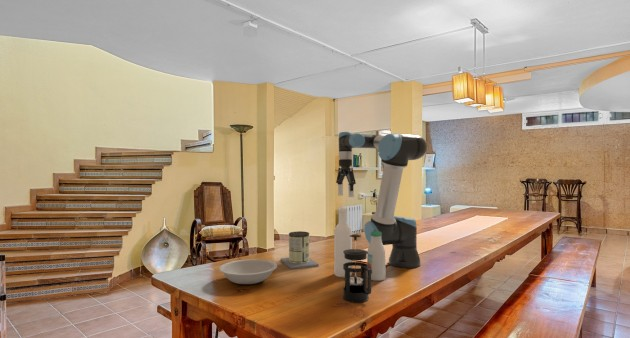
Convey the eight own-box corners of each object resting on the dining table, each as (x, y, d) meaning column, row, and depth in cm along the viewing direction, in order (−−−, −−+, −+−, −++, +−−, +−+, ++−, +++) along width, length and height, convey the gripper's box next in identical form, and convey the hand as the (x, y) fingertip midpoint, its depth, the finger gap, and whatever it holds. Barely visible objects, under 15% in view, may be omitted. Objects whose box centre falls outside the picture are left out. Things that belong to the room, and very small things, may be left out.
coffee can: (290, 258, 183) (290, 231, 183) (310, 258, 182) (310, 231, 182) (287, 263, 173) (287, 234, 173) (308, 264, 172) (307, 235, 172)
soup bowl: (215, 277, 154) (215, 262, 154) (268, 271, 164) (268, 256, 164) (223, 295, 132) (223, 277, 132) (284, 286, 142) (284, 270, 142)
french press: (336, 297, 129) (335, 234, 129) (352, 291, 136) (352, 231, 136) (361, 306, 121) (361, 239, 121) (377, 299, 127) (377, 235, 128)
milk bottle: (386, 276, 154) (386, 230, 154) (384, 282, 147) (383, 233, 147) (369, 275, 157) (368, 230, 157) (365, 280, 150) (365, 232, 150)
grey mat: (318, 266, 171) (318, 264, 171) (290, 269, 166) (290, 267, 166) (306, 257, 188) (306, 255, 188) (280, 260, 183) (280, 258, 183)
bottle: (333, 272, 161) (333, 206, 161) (351, 272, 161) (350, 206, 161) (334, 277, 153) (334, 208, 153) (353, 277, 153) (352, 208, 153)
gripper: (361, 158, 192) (361, 197, 192) (341, 159, 215) (342, 194, 215) (349, 158, 189) (349, 197, 189) (330, 159, 213) (330, 195, 213)
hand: (345, 196), depth 202 cm, fingers open, 13 cm apart
